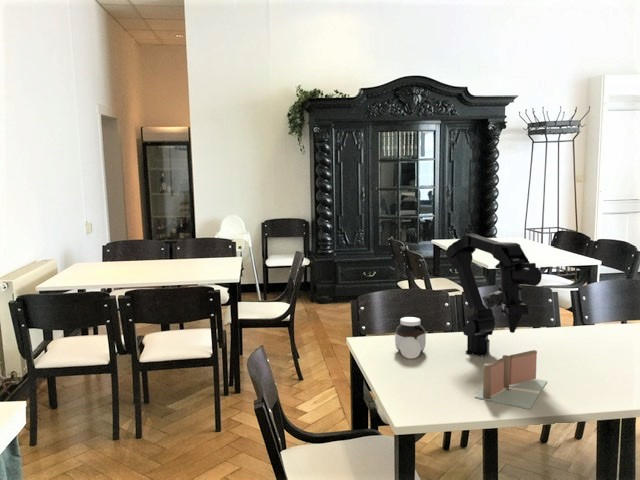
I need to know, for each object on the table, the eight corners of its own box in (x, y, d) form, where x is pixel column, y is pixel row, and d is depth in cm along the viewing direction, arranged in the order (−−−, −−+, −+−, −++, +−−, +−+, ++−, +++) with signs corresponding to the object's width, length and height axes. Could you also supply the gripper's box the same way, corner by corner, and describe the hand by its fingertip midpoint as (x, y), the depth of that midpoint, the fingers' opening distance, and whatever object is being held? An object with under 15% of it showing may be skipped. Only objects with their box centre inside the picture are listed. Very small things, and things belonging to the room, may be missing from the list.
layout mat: (475, 397, 146) (475, 396, 146) (497, 372, 165) (497, 371, 165) (530, 409, 138) (530, 408, 138) (546, 381, 157) (547, 380, 157)
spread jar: (415, 346, 191) (415, 315, 190) (435, 356, 181) (435, 322, 180) (387, 352, 186) (387, 319, 185) (405, 361, 176) (406, 327, 175)
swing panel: (505, 388, 151) (506, 358, 150) (500, 386, 153) (500, 355, 152) (537, 380, 156) (538, 350, 155) (532, 377, 158) (532, 348, 157)
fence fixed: (482, 398, 145) (482, 365, 144) (494, 383, 156) (495, 352, 155) (502, 403, 142) (503, 369, 141) (514, 387, 153) (515, 355, 152)
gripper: (477, 280, 177) (479, 327, 178) (490, 288, 159) (493, 340, 159) (512, 279, 176) (514, 326, 177) (529, 286, 158) (531, 338, 158)
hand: (512, 332), depth 168 cm, fingers closed
